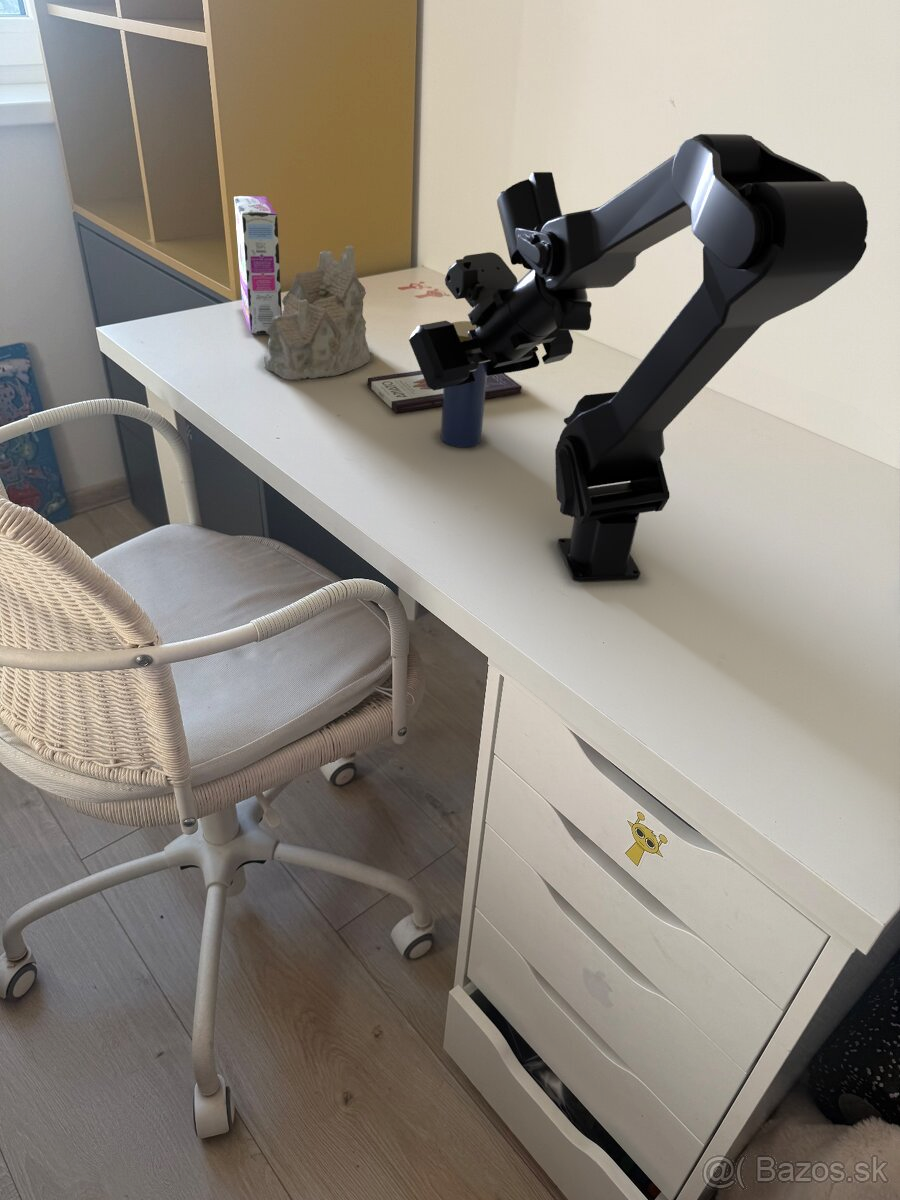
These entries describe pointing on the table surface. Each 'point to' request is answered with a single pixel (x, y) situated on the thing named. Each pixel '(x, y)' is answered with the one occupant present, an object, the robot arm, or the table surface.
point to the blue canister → (464, 403)
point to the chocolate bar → (428, 390)
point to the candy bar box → (258, 261)
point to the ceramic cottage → (320, 322)
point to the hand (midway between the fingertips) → (457, 377)
